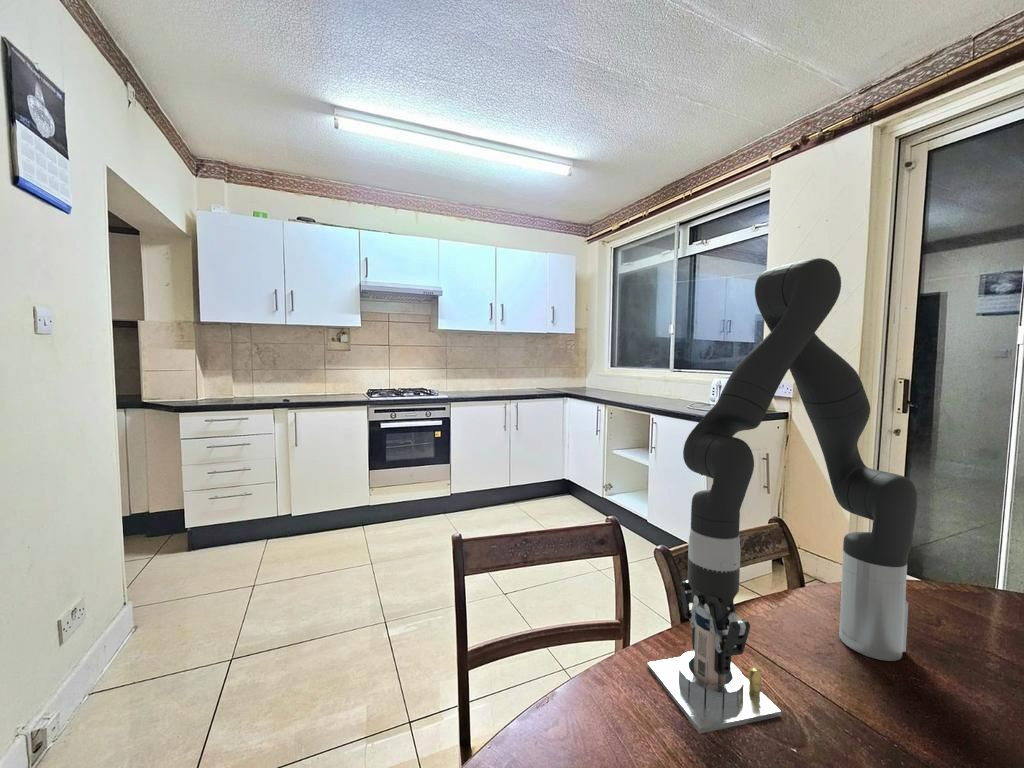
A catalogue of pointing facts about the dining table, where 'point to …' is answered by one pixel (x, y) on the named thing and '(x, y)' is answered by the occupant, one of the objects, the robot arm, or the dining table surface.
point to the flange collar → (714, 695)
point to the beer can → (705, 649)
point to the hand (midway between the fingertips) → (710, 660)
